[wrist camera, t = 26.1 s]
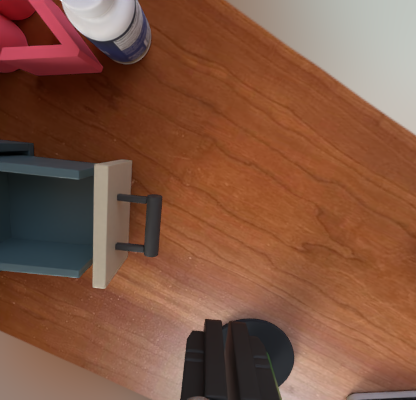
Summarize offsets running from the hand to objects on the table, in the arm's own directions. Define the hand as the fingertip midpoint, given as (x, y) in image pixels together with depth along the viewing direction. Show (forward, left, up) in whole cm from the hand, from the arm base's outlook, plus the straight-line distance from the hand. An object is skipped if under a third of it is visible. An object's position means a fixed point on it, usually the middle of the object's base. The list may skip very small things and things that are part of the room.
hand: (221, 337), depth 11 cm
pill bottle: (+18, +11, -19) cm, 29 cm away
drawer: (0, +14, -18) cm, 23 cm away
